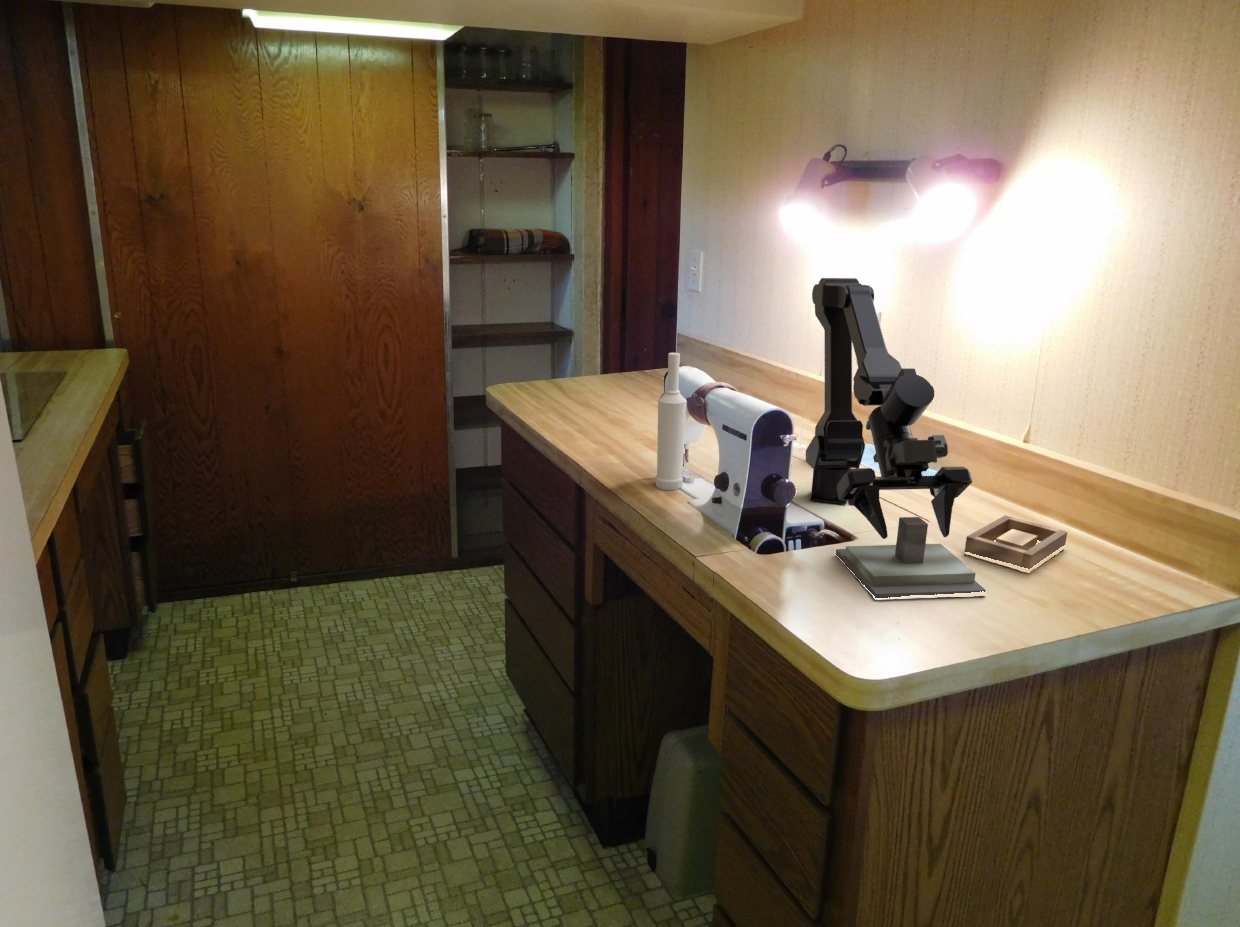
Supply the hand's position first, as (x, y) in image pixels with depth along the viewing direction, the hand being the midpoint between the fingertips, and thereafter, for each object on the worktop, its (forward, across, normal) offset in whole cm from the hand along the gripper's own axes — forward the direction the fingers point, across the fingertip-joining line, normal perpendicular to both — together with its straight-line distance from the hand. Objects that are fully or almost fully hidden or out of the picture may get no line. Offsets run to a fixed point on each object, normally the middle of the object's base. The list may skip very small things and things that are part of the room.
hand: (915, 536), depth 133 cm
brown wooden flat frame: (-1, +21, +11) cm, 24 cm away
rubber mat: (+4, 0, +6) cm, 7 cm away
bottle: (-26, -28, +36) cm, 52 cm away
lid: (+3, 0, +5) cm, 6 cm away
